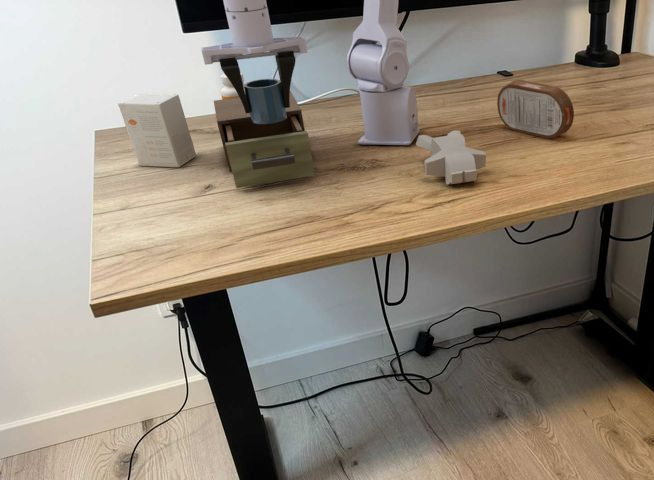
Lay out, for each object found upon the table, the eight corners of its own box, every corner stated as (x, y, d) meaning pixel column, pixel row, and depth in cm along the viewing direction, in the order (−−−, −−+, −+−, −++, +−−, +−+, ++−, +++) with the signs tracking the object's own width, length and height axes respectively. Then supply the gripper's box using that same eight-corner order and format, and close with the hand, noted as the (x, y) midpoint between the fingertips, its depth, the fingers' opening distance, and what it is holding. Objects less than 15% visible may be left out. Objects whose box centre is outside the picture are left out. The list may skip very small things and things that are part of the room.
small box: (197, 156, 114) (180, 94, 107) (179, 168, 109) (159, 103, 103) (157, 154, 115) (138, 93, 109) (138, 166, 111) (116, 102, 105)
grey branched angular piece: (432, 166, 93) (408, 124, 104) (433, 198, 96) (410, 154, 107) (495, 157, 95) (465, 117, 105) (494, 189, 98) (465, 147, 109)
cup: (292, 113, 101) (286, 78, 98) (278, 124, 97) (271, 88, 94) (260, 113, 102) (253, 78, 99) (245, 124, 98) (237, 88, 95)
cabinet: (310, 159, 110) (301, 109, 105) (229, 172, 107) (216, 121, 102) (298, 136, 120) (290, 90, 115) (225, 147, 117) (213, 100, 112)
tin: (573, 139, 112) (576, 87, 107) (562, 144, 110) (565, 92, 105) (505, 123, 121) (505, 75, 116) (494, 128, 119) (494, 79, 114)
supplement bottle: (250, 131, 124) (238, 78, 118) (224, 131, 125) (211, 78, 119) (262, 123, 128) (251, 70, 122) (237, 122, 129) (225, 70, 123)
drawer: (320, 186, 98) (312, 142, 94) (238, 200, 95) (227, 155, 91) (303, 151, 111) (296, 111, 107) (231, 162, 108) (221, 122, 104)
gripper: (192, 18, 86) (219, 122, 94) (302, 7, 89) (319, 108, 97) (192, 10, 91) (216, 110, 99) (295, 0, 95) (311, 97, 103)
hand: (267, 108), depth 99 cm, fingers closed on cup, 5 cm apart
